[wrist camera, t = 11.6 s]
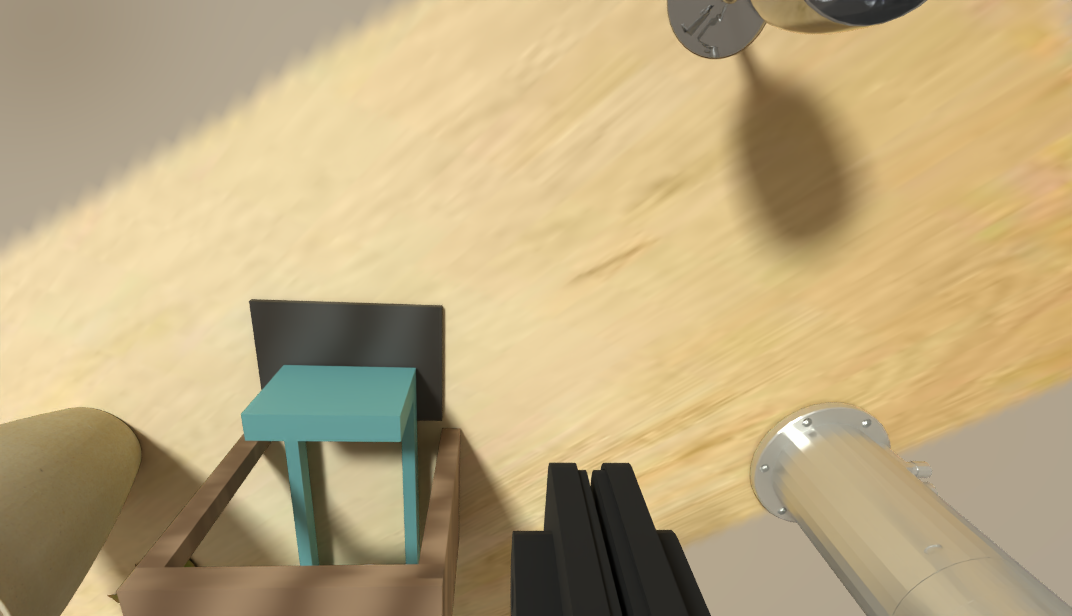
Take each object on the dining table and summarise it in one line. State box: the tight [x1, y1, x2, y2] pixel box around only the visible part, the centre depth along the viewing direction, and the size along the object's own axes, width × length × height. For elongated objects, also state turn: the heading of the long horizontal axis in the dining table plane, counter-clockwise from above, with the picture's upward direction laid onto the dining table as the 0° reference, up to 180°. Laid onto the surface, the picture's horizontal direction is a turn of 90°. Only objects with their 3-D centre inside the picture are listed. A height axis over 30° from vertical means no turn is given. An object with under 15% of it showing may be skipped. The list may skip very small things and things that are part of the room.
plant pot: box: [0, 407, 142, 616], centre depth 33 cm, size 15×15×16 cm
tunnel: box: [116, 299, 460, 616], centre depth 35 cm, size 17×23×16 cm
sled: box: [241, 365, 420, 566], centre depth 41 cm, size 10×31×7 cm, turn 177°
